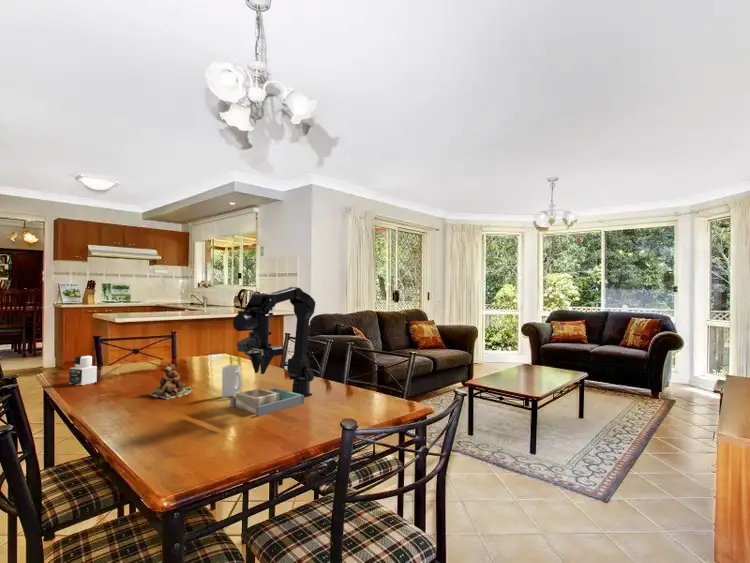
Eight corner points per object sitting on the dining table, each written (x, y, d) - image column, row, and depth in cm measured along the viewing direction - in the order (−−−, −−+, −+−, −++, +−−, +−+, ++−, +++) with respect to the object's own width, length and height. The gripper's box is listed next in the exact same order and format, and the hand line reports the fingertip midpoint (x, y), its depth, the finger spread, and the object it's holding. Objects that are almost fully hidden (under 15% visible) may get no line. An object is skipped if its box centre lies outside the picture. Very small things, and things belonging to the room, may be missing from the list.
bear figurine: (141, 398, 160) (142, 366, 160) (169, 388, 175) (170, 359, 175) (171, 401, 157) (172, 368, 157) (197, 391, 171) (198, 361, 171)
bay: (275, 398, 162) (275, 388, 162) (303, 406, 153) (304, 395, 153) (230, 409, 146) (230, 398, 146) (259, 419, 136) (259, 407, 137)
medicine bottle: (68, 384, 178) (69, 356, 178) (84, 381, 184) (85, 354, 185) (81, 386, 176) (82, 357, 176) (96, 382, 182) (97, 355, 183)
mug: (218, 397, 162) (218, 366, 163) (233, 393, 168) (234, 364, 168) (232, 402, 156) (233, 370, 156) (247, 398, 161) (248, 367, 161)
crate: (259, 401, 153) (259, 388, 153) (279, 407, 146) (279, 393, 146) (235, 407, 145) (236, 393, 145) (255, 414, 138) (256, 399, 138)
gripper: (224, 328, 146) (223, 373, 145) (258, 332, 134) (257, 381, 134) (251, 326, 155) (250, 368, 154) (285, 330, 143) (284, 375, 143)
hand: (259, 373), depth 146 cm, fingers open, 3 cm apart
